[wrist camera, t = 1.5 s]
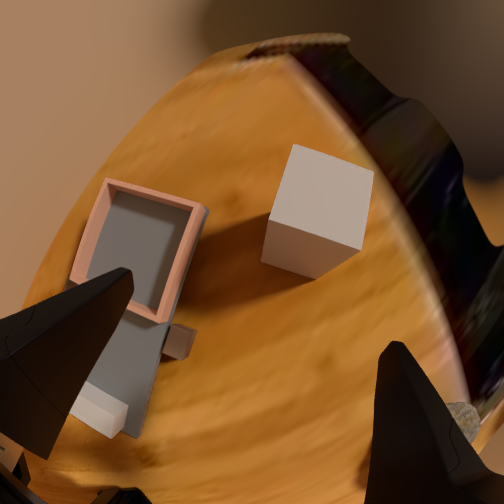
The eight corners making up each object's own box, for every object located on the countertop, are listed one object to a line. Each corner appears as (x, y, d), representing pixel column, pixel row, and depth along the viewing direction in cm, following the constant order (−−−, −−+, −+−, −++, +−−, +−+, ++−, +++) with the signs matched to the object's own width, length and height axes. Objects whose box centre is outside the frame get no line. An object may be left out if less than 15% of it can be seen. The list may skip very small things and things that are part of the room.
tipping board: (141, 434, 19) (125, 452, 15) (66, 390, 19) (45, 400, 16) (209, 211, 21) (200, 195, 18) (121, 186, 22) (102, 170, 18)
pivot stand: (188, 356, 21) (181, 360, 19) (74, 301, 22) (60, 299, 20) (197, 330, 22) (191, 331, 19) (82, 279, 22) (68, 274, 20)
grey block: (315, 279, 23) (361, 250, 13) (260, 261, 23) (268, 219, 13) (329, 227, 24) (373, 172, 14) (277, 209, 24) (293, 143, 15)
